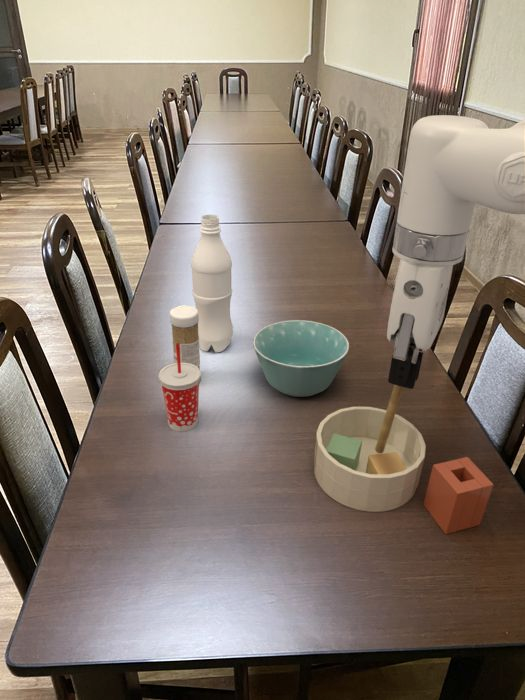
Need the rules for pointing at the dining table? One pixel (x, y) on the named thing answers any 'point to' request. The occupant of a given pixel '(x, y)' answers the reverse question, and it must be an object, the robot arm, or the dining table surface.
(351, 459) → the sage block
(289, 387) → the bowl
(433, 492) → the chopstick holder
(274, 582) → the dining table surface
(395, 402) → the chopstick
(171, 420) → the beverage cup
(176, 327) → the sprinkles bottle
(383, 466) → the maple block
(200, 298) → the water bottle
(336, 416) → the stir bowl
